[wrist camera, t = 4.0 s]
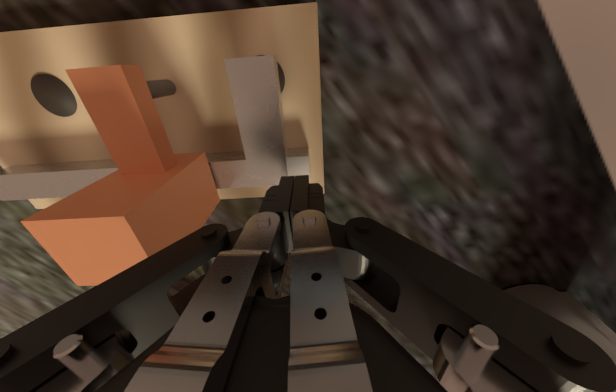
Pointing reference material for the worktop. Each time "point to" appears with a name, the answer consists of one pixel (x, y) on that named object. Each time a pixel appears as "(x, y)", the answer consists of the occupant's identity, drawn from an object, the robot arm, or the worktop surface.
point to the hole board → (157, 66)
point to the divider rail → (224, 165)
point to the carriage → (126, 183)
